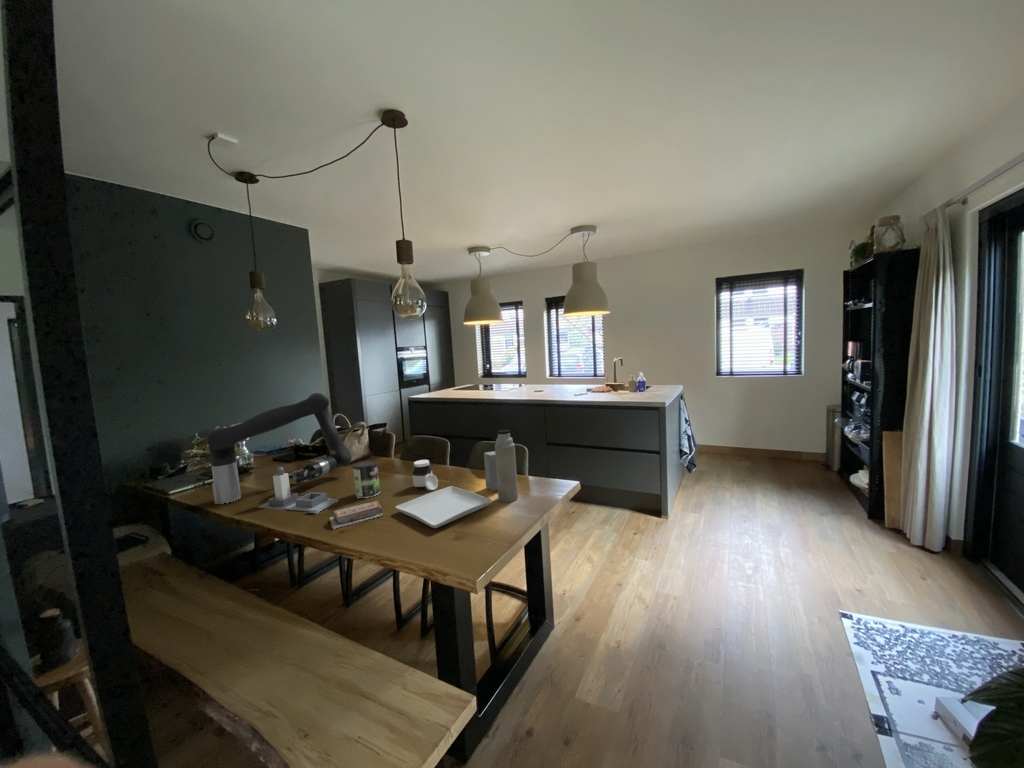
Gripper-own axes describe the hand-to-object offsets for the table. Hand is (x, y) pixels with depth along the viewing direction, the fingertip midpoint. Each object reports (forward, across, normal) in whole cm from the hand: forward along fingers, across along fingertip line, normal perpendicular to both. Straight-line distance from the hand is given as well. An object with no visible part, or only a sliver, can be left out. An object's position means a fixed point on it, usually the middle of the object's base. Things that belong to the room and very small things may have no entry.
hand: (288, 480), depth 177 cm
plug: (+4, 0, +8) cm, 9 cm away
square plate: (0, +74, +10) cm, 75 cm away
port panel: (+4, +16, +9) cm, 19 cm away
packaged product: (+11, +43, +10) cm, 46 cm away
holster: (+4, 0, +9) cm, 10 cm away
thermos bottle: (-16, +95, +9) cm, 97 cm away
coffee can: (-12, +31, +9) cm, 34 cm away
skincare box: (-26, +87, +9) cm, 91 cm away
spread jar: (-23, +54, +9) cm, 59 cm away
